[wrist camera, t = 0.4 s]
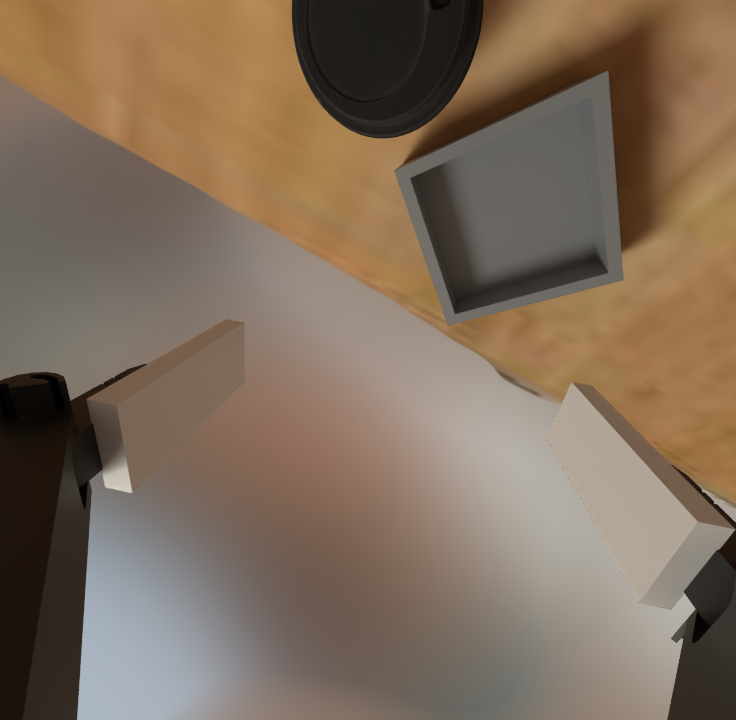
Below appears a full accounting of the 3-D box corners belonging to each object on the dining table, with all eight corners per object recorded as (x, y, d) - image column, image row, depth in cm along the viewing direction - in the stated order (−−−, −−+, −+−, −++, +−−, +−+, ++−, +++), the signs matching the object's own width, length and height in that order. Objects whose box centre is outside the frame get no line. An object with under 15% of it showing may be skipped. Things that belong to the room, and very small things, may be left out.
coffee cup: (503, 46, 26) (534, -10, 14) (415, 155, 32) (384, 181, 20) (413, -68, 24) (361, -245, 12) (335, 70, 29) (245, 41, 17)
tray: (588, 76, 26) (608, 70, 23) (606, 262, 33) (623, 280, 29) (402, 164, 32) (394, 170, 29) (449, 305, 39) (447, 325, 35)
